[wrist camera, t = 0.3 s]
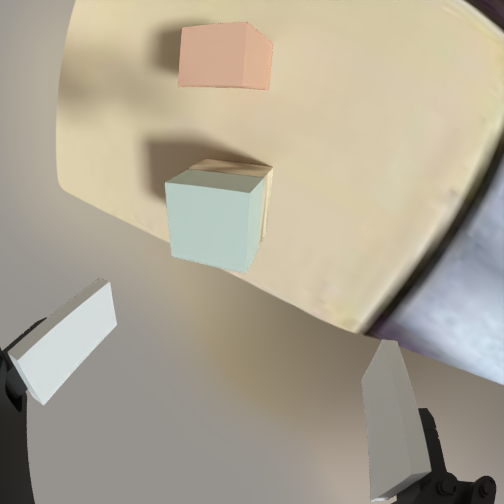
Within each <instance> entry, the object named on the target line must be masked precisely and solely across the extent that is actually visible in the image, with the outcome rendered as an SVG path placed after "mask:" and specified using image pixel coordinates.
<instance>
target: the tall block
mask: <svg viewBox="0 0 504 504" xmlns="http://www.w3.org/2000/svg"><path fill="white" fill-rule="evenodd" d="M272 54H273V43H272V42H271V41H270V40H268V39H267V38H266V37H265V36H264V35H263V34H261V33H260V32H259V31H258V30H257V29H255V28H254V27H253V26H252V25H250V24H249V23H248V22H234V23H218V24H207V25H198V26H190V27H183V28H182V34H181V46H180V61H179V79H178V87H216V88H245V89H262V90H269V89H270V77H271V66H272Z"/></svg>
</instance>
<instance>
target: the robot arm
mask: <svg viewBox="0 0 504 504" xmlns="http://www.w3.org/2000/svg"><path fill="white" fill-rule="evenodd" d="M116 325H117V322H116V317H115V311H114V305H113V299H112V293H111V287H110V281H107V280H104V279H100V278H98V279H97V280H95V281H94V282H93V283H92V284H90V285H89V286H87V287H86V288H85V289H83V290H82V291H81V292H80V293H78V294H77V295H76V296H74V297H73V298H72V299H70V300H69V301H68V302H67V303H65V304H64V305H63V306H61V307H60V308H59V309H58V310H56V311H55V312H54V313H53V314H51V315H50V316H49V317H48V318H44V319H42V320H39V321H37V322H36V323H35V324H33V325H32V326H31V327H30V329H27V330H26V331H25V332H24V334H21V335H20V336H19V337H18V338H17V339H16V340H14V341H13V342H12V343H11V344H10V345H9V346H8V347H7V348H5V349H4V350H3V351H2V350H1V348H0V504H35V502H34V497H33V492H32V486H31V479H30V471H29V462H28V450H27V427H26V424H27V415H26V414H27V394H26V392H25V391H26V390H27V389H28V390H29V391H30V393H31V394H32V396H33V397H34V398H35V399H36V400H38V401H39V402H40V403H41V404H42V405H44V404H45V403H46V402H47V401H48V400H49V399H50V398H51V396H52V395H53V394H54V393H55V391H57V389H58V388H59V387H60V386H61V385H62V384H63V382H64V381H65V380H66V379H67V378H68V377H69V376H70V375H71V373H72V372H73V371H74V370H75V369H76V368H77V367H78V366H79V365H80V364H81V363H82V361H83V360H84V359H85V358H86V357H87V356H88V355H89V354H90V353H91V352H92V351H93V349H94V348H95V347H96V346H97V345H98V344H99V343H100V342H101V341H102V340H103V339H104V338H105V337H106V336H107V335H108V333H109V332H110V331H111V330H112V329H113V328H114V327H115V326H116ZM361 384H362V392H363V400H364V408H365V417H366V428H367V439H368V454H369V471H370V472H369V473H370V501H380V500H388V499H390V498H392V497H394V496H395V495H397V501H395V502H393V503H392V504H494V501H495V494H496V484H495V481H494V480H493V478H492V477H490V476H483V477H481V478H479V479H478V480H476V481H475V482H464V481H458V480H457V478H456V477H455V476H454V475H453V474H452V473H448V472H447V470H446V467H445V463H444V458H443V453H442V449H441V444H440V440H439V439H438V432H437V430H436V425H435V421H434V418H433V416H432V415H431V413H430V412H429V411H428V409H427V408H418V407H417V403H416V400H415V396H414V393H413V389H412V386H411V382H410V379H409V376H408V373H407V370H406V366H405V363H404V360H403V357H402V355H401V352H400V349H399V346H398V343H397V341H393V340H384V339H382V341H381V343H380V345H379V347H378V349H377V351H376V353H375V355H374V357H373V359H372V361H371V363H370V365H369V367H368V369H367V371H366V372H365V374H364V376H363V378H362V380H361Z"/></svg>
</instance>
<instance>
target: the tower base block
mask: <svg viewBox="0 0 504 504" xmlns="http://www.w3.org/2000/svg"><path fill="white" fill-rule="evenodd" d="M188 169H190V170H200V171H210V172H219V173H228V174H236V175H244V176H252V177H259V178H263V191H262V204H261V217H260V230H259V242H258V247H259V245H260V243H261V241H262V239H263V238H264V236H265V234H266V232H267V224H268V215H269V205H270V195H271V185H272V175H273V167H269V166H262V165H255V164H248V163H240V162H231V161H223V160H213V159H204V160H202V161H200V162H199V163H197V164H195V165H193V166H191V167H189V168H188Z"/></svg>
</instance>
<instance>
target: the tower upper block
mask: <svg viewBox="0 0 504 504" xmlns="http://www.w3.org/2000/svg"><path fill="white" fill-rule="evenodd" d="M262 191H263V178H259V177H252V176H244V175H236V174H228V173H219V172H210V171H200V170H190V169H188V170H186V171H184V172H182V173H180V174H179V175H177V176H175V177H173V178H172V179H170V180H168V181H166V182H165V193H166V205H167V216H168V227H169V236H170V245H171V254H172V257H176V258H181V259H185V260H189V261H193V262H197V263H202V264H206V265H210V266H215V267H219V268H223V269H228V270H232V271H236V272H241V273H245V274H246V272H247V270H248V268H249V266H250V264H251V262H252V260H253V258H254V256H255V254H256V253H257V251H258V242H259V230H260V217H261V204H262Z"/></svg>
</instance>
